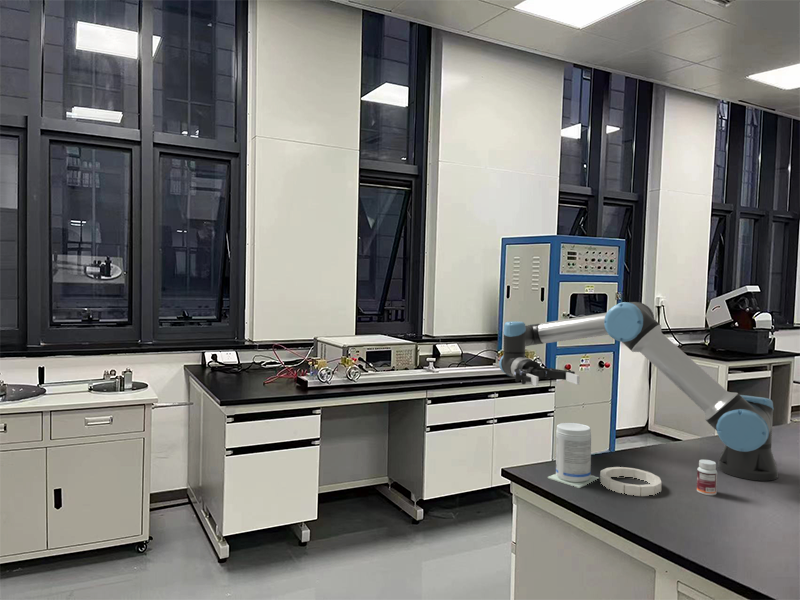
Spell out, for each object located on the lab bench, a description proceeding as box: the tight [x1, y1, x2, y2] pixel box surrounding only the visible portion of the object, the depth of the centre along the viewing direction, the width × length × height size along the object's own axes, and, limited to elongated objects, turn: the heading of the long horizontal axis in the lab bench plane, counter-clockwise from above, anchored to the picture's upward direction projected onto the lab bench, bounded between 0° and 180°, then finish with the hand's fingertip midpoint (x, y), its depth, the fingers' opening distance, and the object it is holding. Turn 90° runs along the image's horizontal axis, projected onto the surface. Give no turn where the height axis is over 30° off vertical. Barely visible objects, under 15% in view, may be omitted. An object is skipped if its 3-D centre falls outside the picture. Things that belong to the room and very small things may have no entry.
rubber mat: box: [547, 473, 600, 489], centre depth 161 cm, size 10×11×1 cm
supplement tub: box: [555, 422, 592, 482], centre depth 161 cm, size 10×10×15 cm
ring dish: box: [599, 466, 663, 497], centre depth 157 cm, size 16×16×2 cm
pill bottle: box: [696, 459, 718, 496], centre depth 152 cm, size 5×5×8 cm
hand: (558, 380), depth 170 cm, fingers open, 13 cm apart
